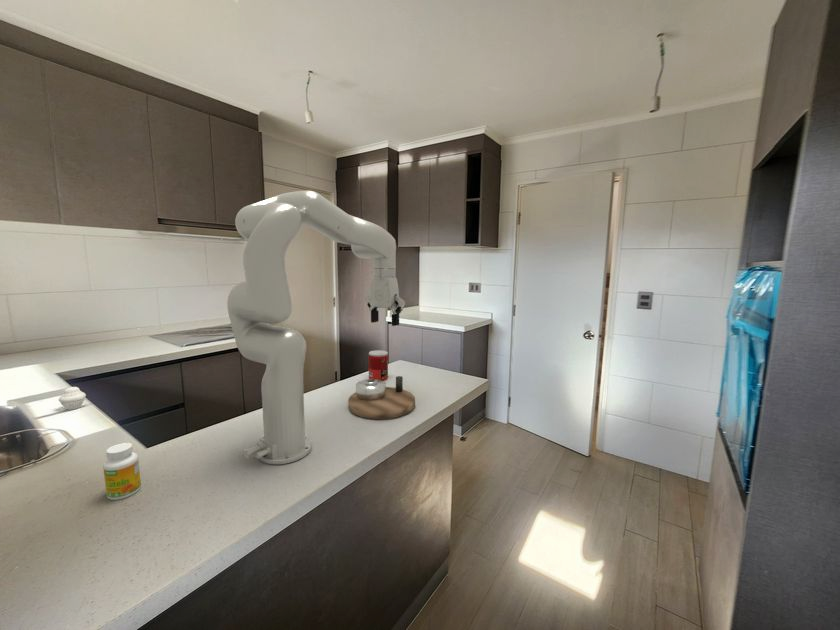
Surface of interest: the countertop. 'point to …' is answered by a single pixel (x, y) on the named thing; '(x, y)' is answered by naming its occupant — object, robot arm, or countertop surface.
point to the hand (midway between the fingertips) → (384, 323)
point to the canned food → (378, 365)
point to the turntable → (384, 403)
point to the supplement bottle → (121, 471)
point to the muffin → (72, 398)
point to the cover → (370, 389)
